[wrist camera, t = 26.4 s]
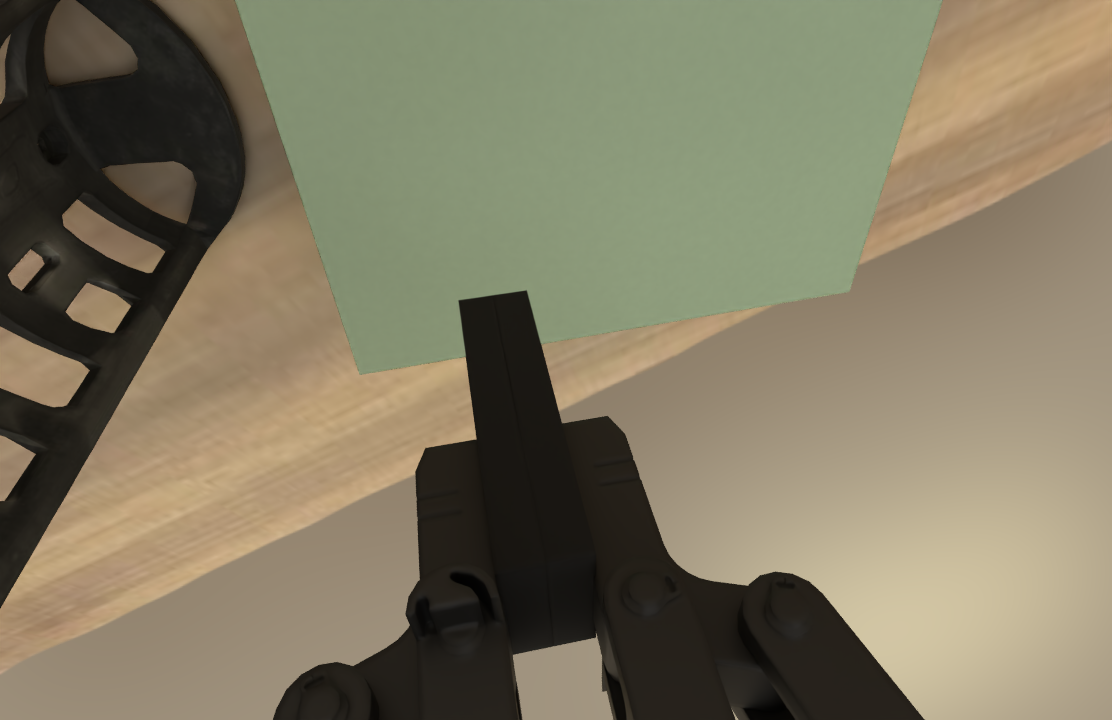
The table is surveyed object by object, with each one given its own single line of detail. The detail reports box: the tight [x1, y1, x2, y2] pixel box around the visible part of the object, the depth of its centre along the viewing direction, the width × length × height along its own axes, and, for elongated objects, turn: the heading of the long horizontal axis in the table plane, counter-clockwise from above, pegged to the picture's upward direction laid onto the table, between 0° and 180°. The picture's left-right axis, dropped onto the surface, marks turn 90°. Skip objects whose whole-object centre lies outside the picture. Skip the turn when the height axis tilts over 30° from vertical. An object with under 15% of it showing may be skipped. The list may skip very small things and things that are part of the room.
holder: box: [0, 0, 245, 608], centre depth 19 cm, size 11×8×20 cm
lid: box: [235, 0, 943, 375], centre depth 22 cm, size 20×14×1 cm
